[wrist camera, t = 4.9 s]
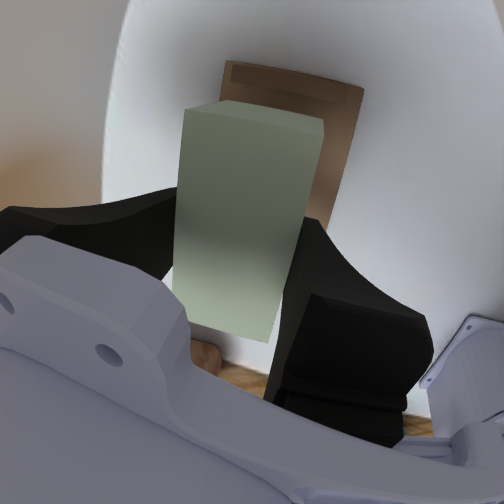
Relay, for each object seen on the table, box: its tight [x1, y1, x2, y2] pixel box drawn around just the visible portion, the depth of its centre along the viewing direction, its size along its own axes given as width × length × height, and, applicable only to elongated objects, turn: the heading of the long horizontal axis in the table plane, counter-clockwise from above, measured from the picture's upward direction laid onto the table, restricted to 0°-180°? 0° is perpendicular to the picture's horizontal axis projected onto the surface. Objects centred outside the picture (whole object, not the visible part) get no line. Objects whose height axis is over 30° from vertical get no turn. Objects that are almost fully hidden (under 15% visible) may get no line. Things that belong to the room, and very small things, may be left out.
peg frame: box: [219, 61, 364, 232], centre depth 18 cm, size 12×8×3 cm, turn 170°
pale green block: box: [172, 100, 324, 343], centre depth 12 cm, size 8×4×4 cm, turn 170°
